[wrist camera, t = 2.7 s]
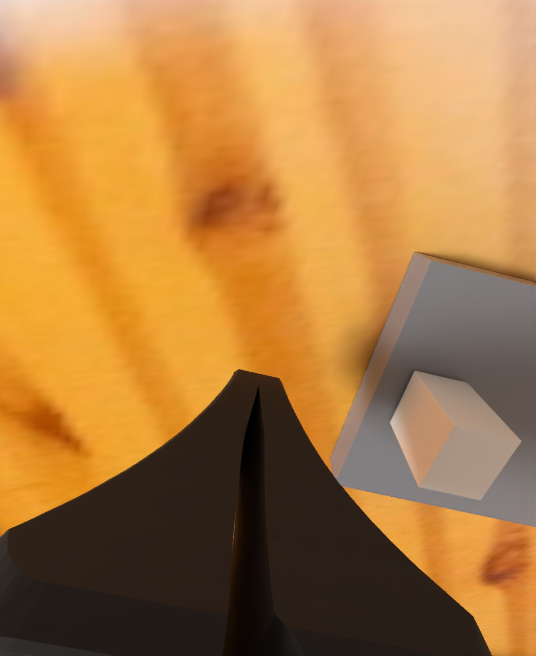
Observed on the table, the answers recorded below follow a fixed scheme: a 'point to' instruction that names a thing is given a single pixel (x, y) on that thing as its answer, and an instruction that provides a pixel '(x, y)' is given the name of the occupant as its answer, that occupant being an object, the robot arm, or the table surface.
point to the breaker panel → (454, 363)
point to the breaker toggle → (451, 436)
